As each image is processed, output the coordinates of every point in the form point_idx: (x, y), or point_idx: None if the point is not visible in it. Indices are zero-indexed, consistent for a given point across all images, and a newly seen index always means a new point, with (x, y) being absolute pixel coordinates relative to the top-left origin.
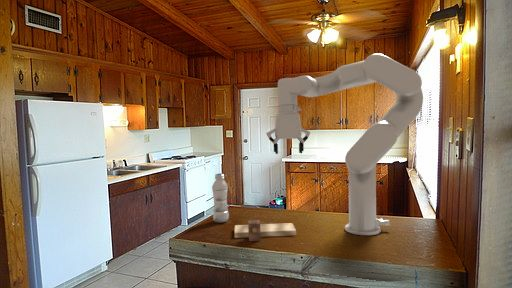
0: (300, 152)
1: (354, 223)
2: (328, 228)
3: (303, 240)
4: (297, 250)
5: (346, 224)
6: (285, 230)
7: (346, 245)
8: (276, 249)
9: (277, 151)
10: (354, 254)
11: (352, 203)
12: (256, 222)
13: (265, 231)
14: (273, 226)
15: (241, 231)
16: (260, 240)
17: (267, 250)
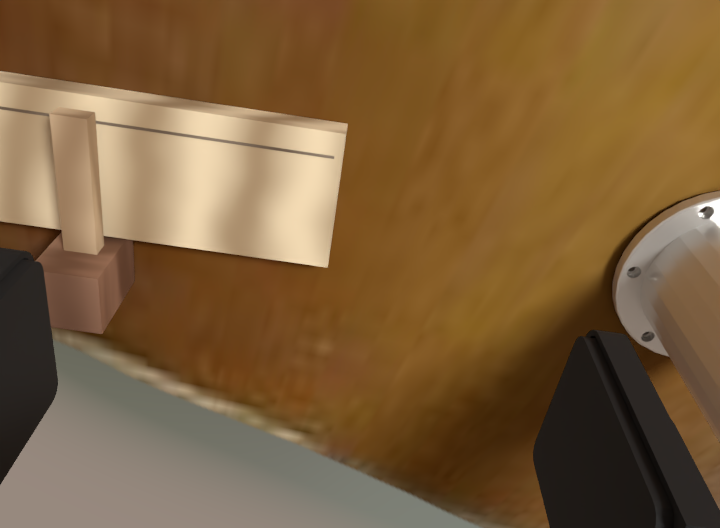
0: (534, 461)
1: (655, 331)
2: (555, 194)
3: (341, 322)
4: (281, 406)
5: (671, 218)
6: (268, 254)
7: (496, 410)
8: (198, 379)
9: (26, 426)
10: (473, 477)
11: (700, 398)
12: (79, 315)
13: (155, 242)
14: (211, 169)
15: (16, 207)
16: (133, 281)
17: (160, 379)
